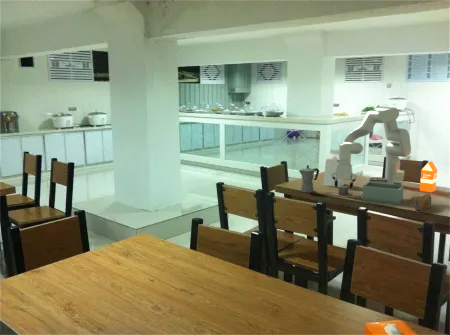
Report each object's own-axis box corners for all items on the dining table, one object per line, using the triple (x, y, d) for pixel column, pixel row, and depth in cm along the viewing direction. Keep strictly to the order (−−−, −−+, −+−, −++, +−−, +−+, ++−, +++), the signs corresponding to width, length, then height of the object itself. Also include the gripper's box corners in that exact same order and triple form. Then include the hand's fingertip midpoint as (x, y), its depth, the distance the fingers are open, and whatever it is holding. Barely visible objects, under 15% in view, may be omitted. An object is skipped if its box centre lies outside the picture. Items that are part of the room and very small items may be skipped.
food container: (384, 191, 285) (385, 177, 283) (387, 193, 279) (388, 179, 277) (366, 191, 286) (367, 176, 285) (368, 193, 280) (369, 178, 279)
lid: (329, 191, 289) (330, 183, 288) (363, 195, 278) (363, 187, 277) (323, 195, 278) (323, 187, 277) (357, 200, 266) (358, 191, 265)
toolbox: (368, 193, 280) (369, 178, 278) (403, 197, 269) (404, 182, 267) (362, 199, 265) (362, 184, 263) (399, 204, 254) (400, 188, 252)
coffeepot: (301, 193, 282) (302, 167, 278) (295, 190, 291) (295, 164, 287) (321, 191, 286) (322, 165, 283) (315, 188, 295) (315, 163, 292)
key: (397, 178, 277) (398, 170, 276) (403, 178, 275) (404, 170, 274) (395, 180, 271) (395, 172, 270) (401, 181, 269) (402, 172, 268)
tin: (417, 211, 239) (418, 197, 237) (412, 210, 241) (413, 196, 240) (431, 207, 247) (432, 193, 246) (426, 206, 250) (427, 192, 248)
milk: (344, 184, 308) (346, 149, 303) (339, 187, 299) (341, 151, 294) (328, 182, 315) (329, 148, 310) (323, 185, 305) (324, 150, 300)
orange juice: (435, 190, 288) (438, 161, 284) (431, 192, 282) (434, 163, 278) (423, 188, 293) (426, 160, 289) (419, 190, 287) (421, 162, 283)
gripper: (329, 161, 275) (329, 187, 278) (356, 164, 266) (355, 190, 269) (333, 160, 281) (332, 184, 284) (359, 162, 272) (358, 187, 276)
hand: (343, 187), depth 277 cm, fingers open, 9 cm apart
